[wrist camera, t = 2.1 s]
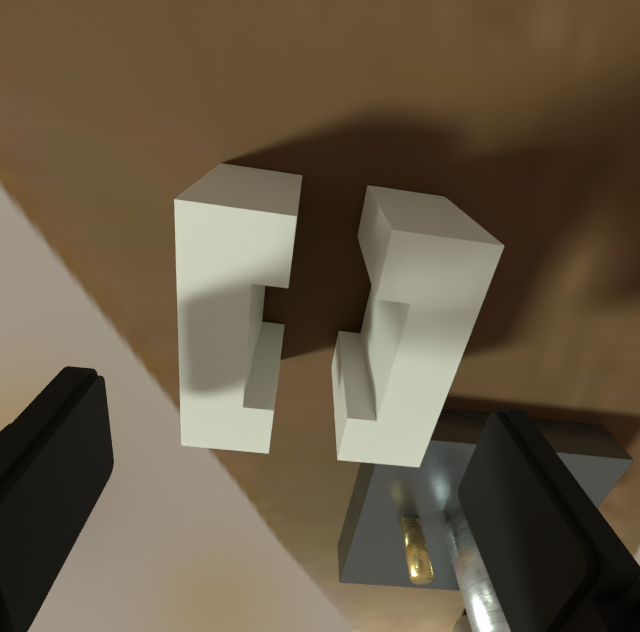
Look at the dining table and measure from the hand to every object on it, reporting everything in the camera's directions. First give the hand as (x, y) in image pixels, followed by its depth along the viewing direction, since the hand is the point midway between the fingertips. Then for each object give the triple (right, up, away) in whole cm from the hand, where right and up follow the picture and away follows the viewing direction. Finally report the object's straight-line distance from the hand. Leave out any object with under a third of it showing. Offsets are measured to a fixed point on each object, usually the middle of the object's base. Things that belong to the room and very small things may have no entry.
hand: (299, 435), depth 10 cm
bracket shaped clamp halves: (0, +4, +5) cm, 7 cm away
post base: (+8, -6, +11) cm, 15 cm away
